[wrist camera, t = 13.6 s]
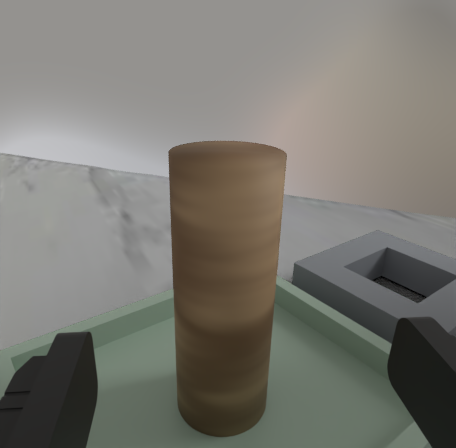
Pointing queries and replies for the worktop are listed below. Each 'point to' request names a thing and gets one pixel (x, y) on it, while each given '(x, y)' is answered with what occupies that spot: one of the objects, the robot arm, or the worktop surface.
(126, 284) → the worktop surface
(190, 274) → the dowel
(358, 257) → the socket block
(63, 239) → the worktop surface
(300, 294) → the tray
